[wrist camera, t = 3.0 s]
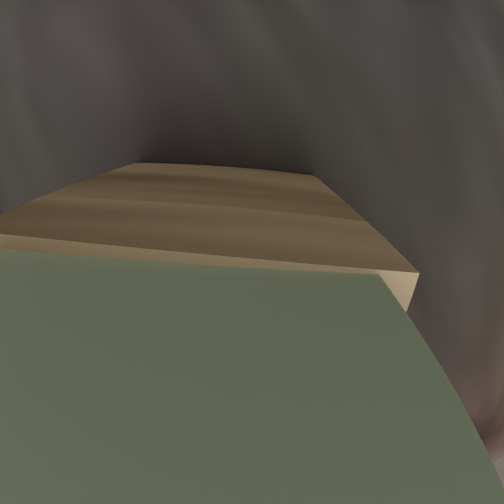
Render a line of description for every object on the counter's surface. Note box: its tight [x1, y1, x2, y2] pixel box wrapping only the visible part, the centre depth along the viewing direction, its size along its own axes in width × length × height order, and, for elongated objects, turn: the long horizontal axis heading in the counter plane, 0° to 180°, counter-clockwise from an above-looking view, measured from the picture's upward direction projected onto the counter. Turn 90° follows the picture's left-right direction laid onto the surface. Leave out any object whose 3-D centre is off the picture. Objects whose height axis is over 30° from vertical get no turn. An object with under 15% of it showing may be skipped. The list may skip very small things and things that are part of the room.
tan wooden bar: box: [0, 163, 419, 312], centre depth 9 cm, size 18×5×6 cm, turn 175°
